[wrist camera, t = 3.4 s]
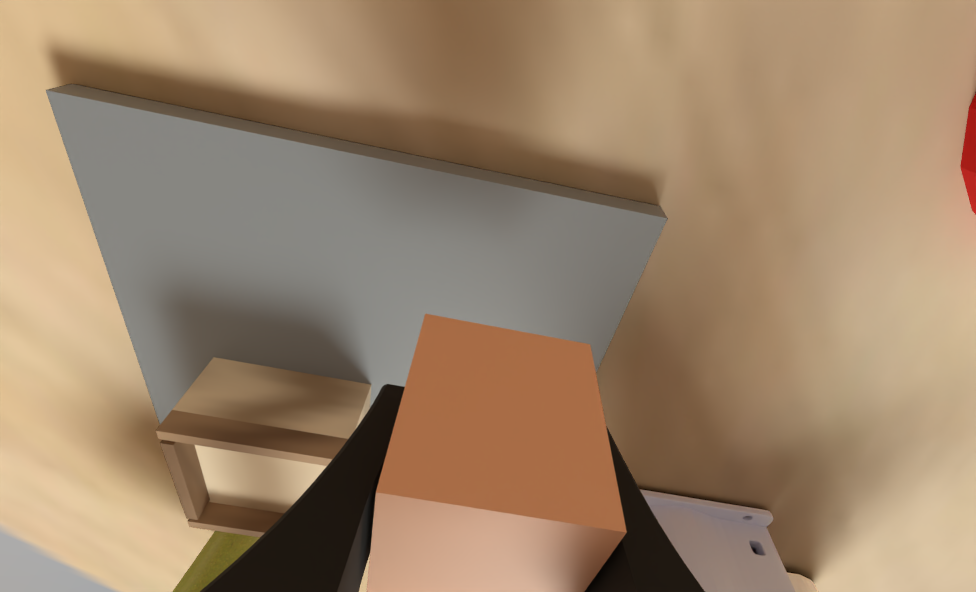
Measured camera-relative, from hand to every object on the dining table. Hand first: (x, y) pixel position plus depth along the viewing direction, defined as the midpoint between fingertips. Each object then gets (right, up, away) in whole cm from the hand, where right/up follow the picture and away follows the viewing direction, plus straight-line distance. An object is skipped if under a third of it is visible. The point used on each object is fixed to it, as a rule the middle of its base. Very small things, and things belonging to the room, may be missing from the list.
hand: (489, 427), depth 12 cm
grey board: (-5, +1, +9) cm, 10 cm away
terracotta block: (0, +1, +1) cm, 1 cm away
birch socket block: (-9, -3, +10) cm, 14 cm away
